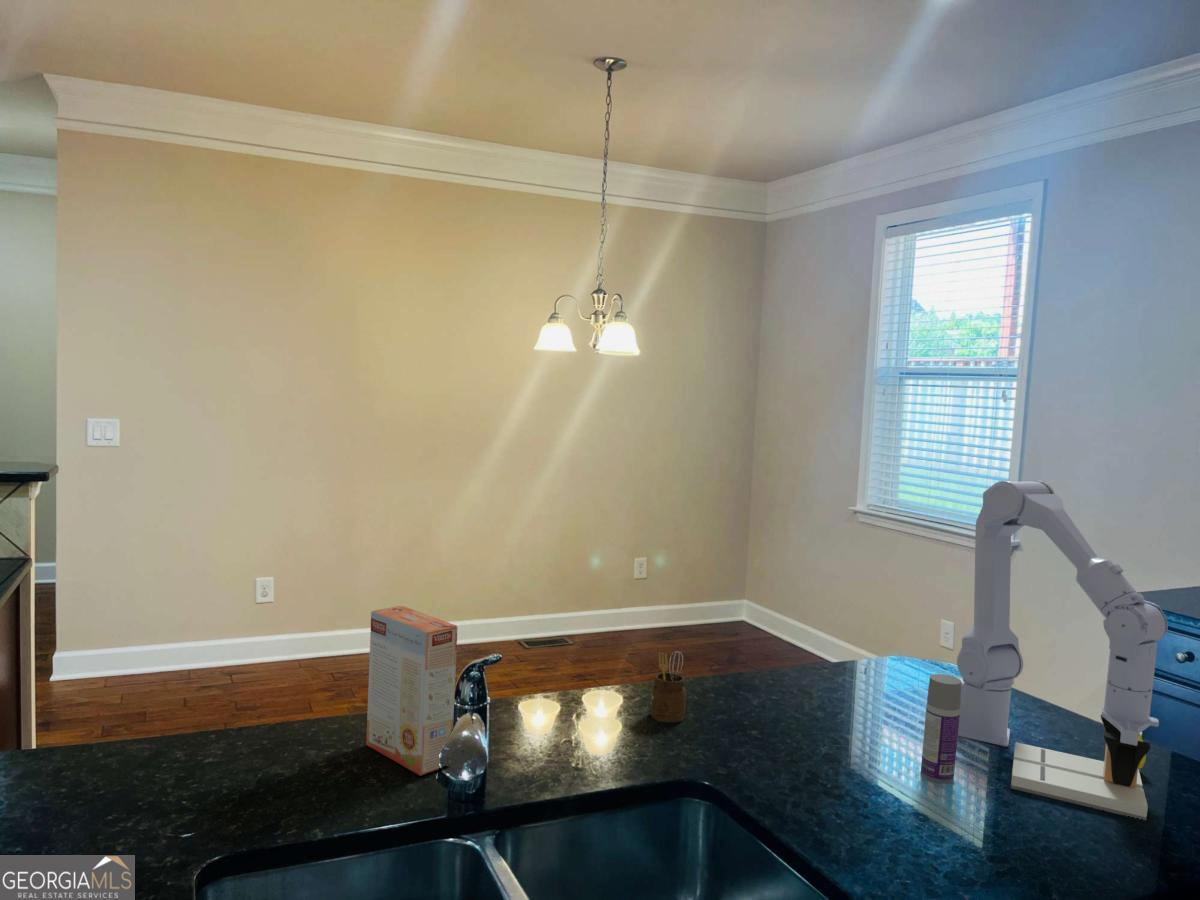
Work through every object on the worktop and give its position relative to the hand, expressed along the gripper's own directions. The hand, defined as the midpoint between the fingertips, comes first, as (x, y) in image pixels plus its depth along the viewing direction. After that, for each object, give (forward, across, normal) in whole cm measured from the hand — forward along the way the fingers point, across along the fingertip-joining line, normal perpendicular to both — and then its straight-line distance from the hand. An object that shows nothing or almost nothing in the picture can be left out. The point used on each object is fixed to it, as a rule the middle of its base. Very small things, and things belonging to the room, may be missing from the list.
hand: (1119, 775), depth 126 cm
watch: (+3, +13, -2) cm, 14 cm away
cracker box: (+3, -48, +93) cm, 105 cm away
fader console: (+3, 0, +6) cm, 6 cm away
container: (+3, -9, +24) cm, 26 cm away
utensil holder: (+3, -12, +67) cm, 68 cm away
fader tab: (+3, 0, 0) cm, 3 cm away
